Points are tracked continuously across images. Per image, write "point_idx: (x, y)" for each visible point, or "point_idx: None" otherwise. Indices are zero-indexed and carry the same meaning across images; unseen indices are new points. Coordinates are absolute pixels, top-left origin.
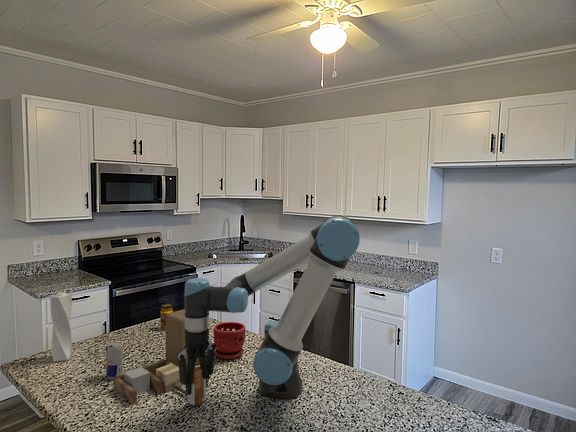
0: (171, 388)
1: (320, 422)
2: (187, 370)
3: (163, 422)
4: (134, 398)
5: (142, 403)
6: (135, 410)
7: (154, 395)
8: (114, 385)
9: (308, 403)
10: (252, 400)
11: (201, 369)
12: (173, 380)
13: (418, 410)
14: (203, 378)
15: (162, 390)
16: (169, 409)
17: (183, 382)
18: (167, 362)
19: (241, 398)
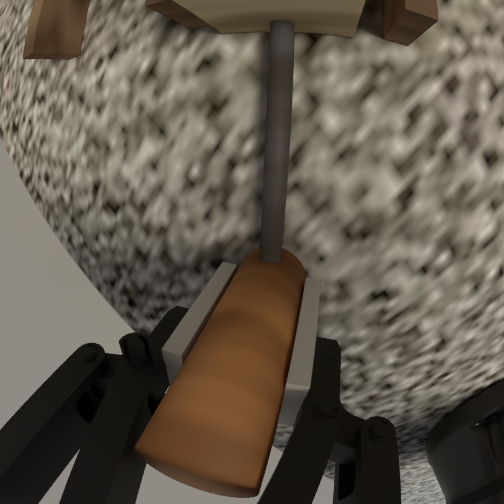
0: (265, 28)
1: None
2: (92, 444)
3: (98, 264)
4: (52, 56)
5: (91, 68)
6: (59, 107)
7: (161, 26)
8: None
9: (427, 467)
10: (406, 416)
11: (229, 496)
12: (272, 9)
13: (436, 500)
14: (290, 412)
15: (198, 22)
16: (143, 210)
17: (89, 390)
18: None
19: (408, 392)
